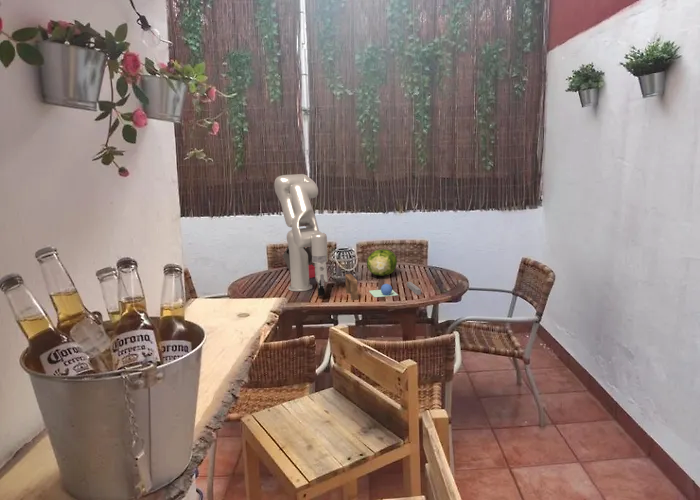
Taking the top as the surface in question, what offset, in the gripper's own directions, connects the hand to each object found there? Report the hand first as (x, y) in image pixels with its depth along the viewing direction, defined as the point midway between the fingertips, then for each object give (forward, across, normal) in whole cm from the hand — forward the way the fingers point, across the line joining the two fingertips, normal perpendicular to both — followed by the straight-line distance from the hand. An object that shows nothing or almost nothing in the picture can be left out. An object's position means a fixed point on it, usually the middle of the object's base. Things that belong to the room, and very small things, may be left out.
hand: (321, 295), depth 257 cm
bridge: (+2, 0, -15) cm, 15 cm away
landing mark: (+2, 0, -31) cm, 31 cm away
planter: (+2, +67, +3) cm, 67 cm away
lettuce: (+2, +33, -39) cm, 51 cm away
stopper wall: (+2, 0, -47) cm, 47 cm away
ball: (-1, -4, -32) cm, 32 cm away
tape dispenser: (+2, +49, -2) cm, 49 cm away
